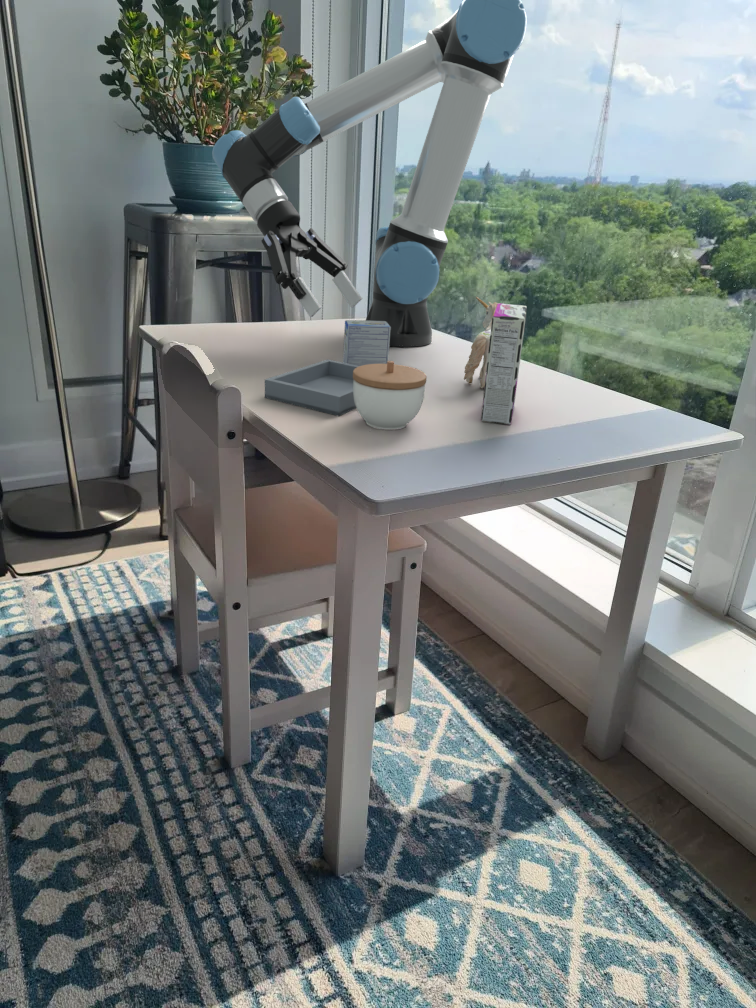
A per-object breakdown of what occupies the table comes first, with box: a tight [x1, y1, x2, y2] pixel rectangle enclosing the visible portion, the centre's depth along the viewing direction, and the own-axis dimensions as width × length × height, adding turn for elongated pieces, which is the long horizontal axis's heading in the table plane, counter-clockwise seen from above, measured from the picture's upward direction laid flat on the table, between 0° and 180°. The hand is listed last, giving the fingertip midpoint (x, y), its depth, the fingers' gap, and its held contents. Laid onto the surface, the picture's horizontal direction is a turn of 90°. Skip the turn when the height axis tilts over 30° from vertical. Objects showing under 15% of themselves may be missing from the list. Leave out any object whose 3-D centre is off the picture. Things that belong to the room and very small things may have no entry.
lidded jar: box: [353, 360, 427, 431], centre depth 112 cm, size 11×11×9 cm
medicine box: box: [342, 319, 391, 366], centre depth 141 cm, size 8×4×9 cm, turn 100°
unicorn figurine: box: [463, 296, 500, 389], centre depth 138 cm, size 7×20×13 cm, turn 171°
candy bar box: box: [480, 302, 528, 425], centre depth 119 cm, size 11×5×16 cm, turn 168°
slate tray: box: [264, 358, 359, 417], centre depth 126 cm, size 18×14×3 cm
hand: (337, 307), depth 140 cm, fingers open, 13 cm apart
